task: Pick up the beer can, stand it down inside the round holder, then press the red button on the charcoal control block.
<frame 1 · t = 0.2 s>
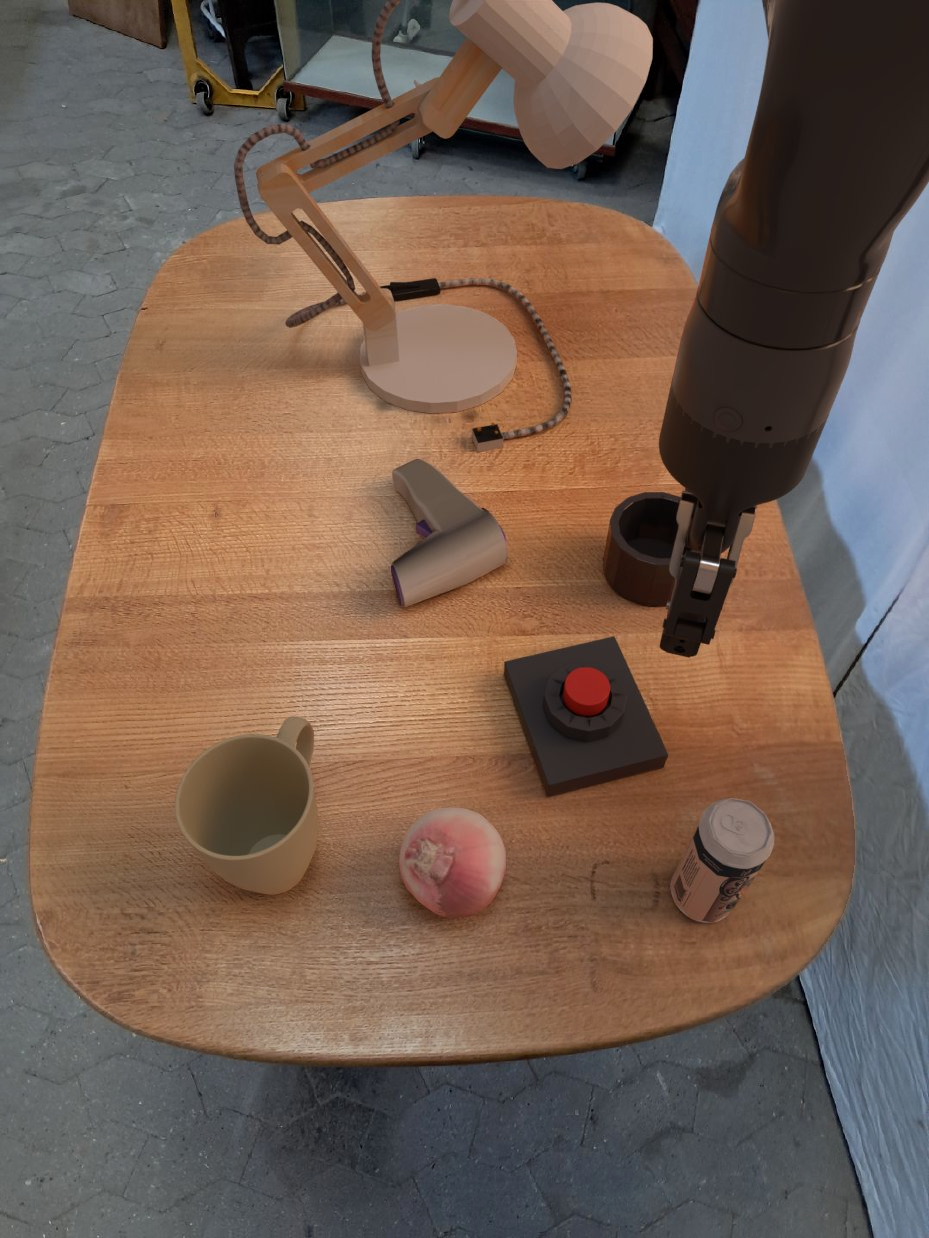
hand: (687, 594, 56), 22 cm above the table, tool pointing down, fingers open, 8 cm apart
desk lamp: (443, 364, 105), on the table
button: (586, 691, 73), point 4 cm above the table, slide at 0.1 cm
holder: (649, 570, 86), on the table
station: (580, 719, 76), on the table
onion: (454, 876, 68), on the table
beer can: (701, 893, 67), on the table
mug: (279, 850, 70), on the table
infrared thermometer: (419, 544, 88), on the table
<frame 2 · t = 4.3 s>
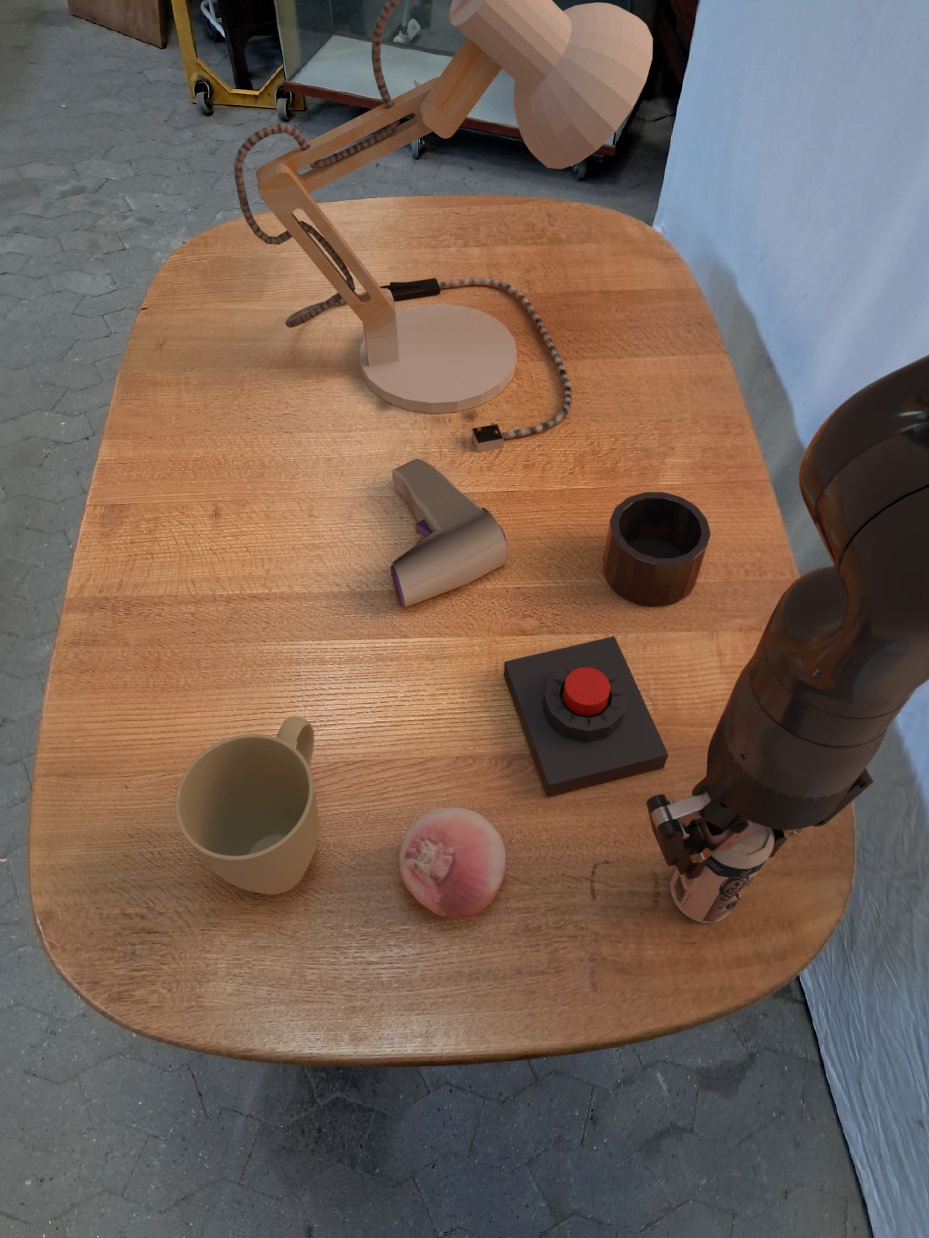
hand: (724, 854, 61), 7 cm above the table, tool pointing down, fingers closed on beer can, 4 cm apart
beer can: (701, 893, 67), on the table, touching gripper
everything else where it was.
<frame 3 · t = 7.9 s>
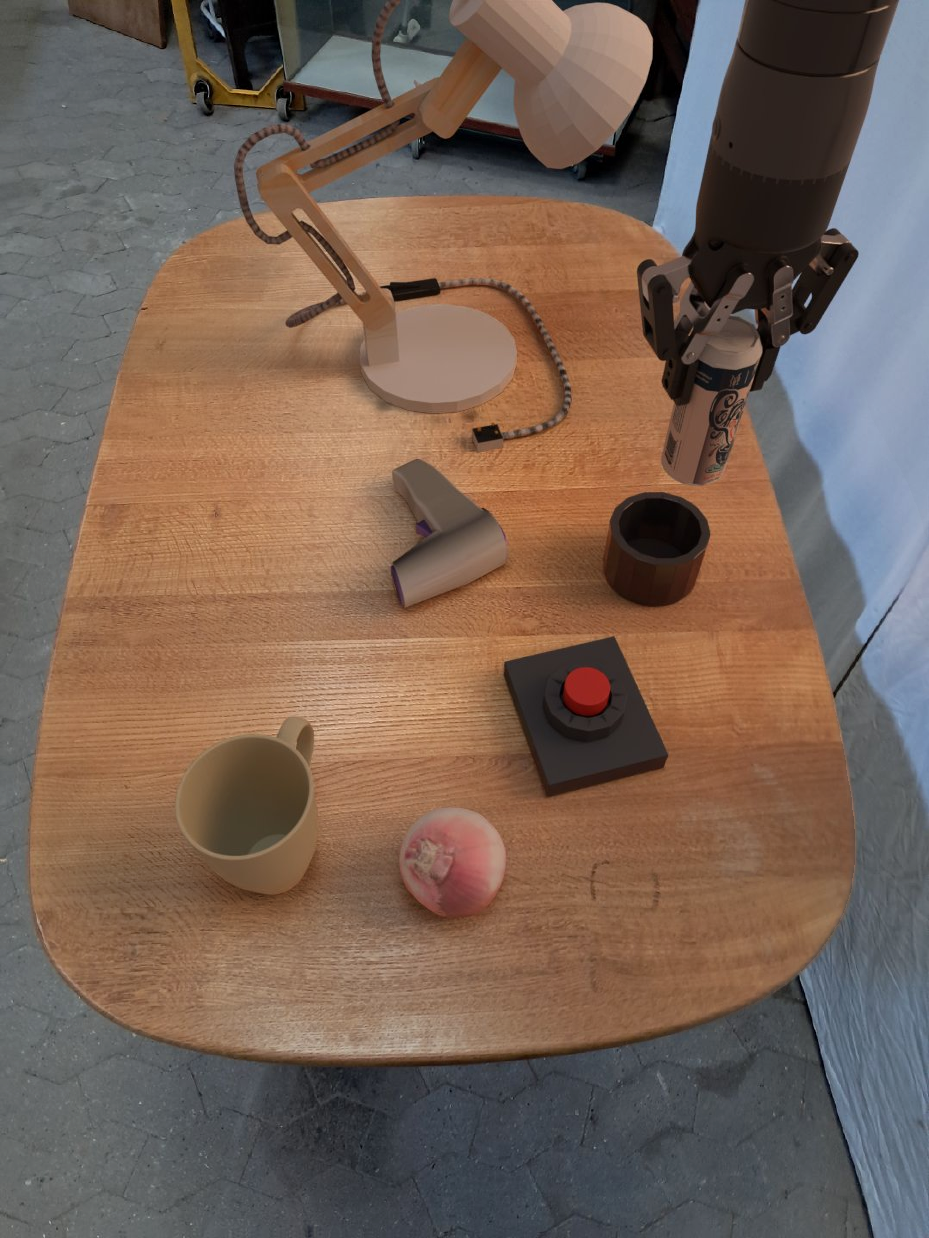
hand: (713, 389, 62), 25 cm above the table, tool pointing down, fingers closed on beer can, 4 cm apart
beer can: (691, 469, 68), point 18 cm above the table, touching gripper
everything else where it was.
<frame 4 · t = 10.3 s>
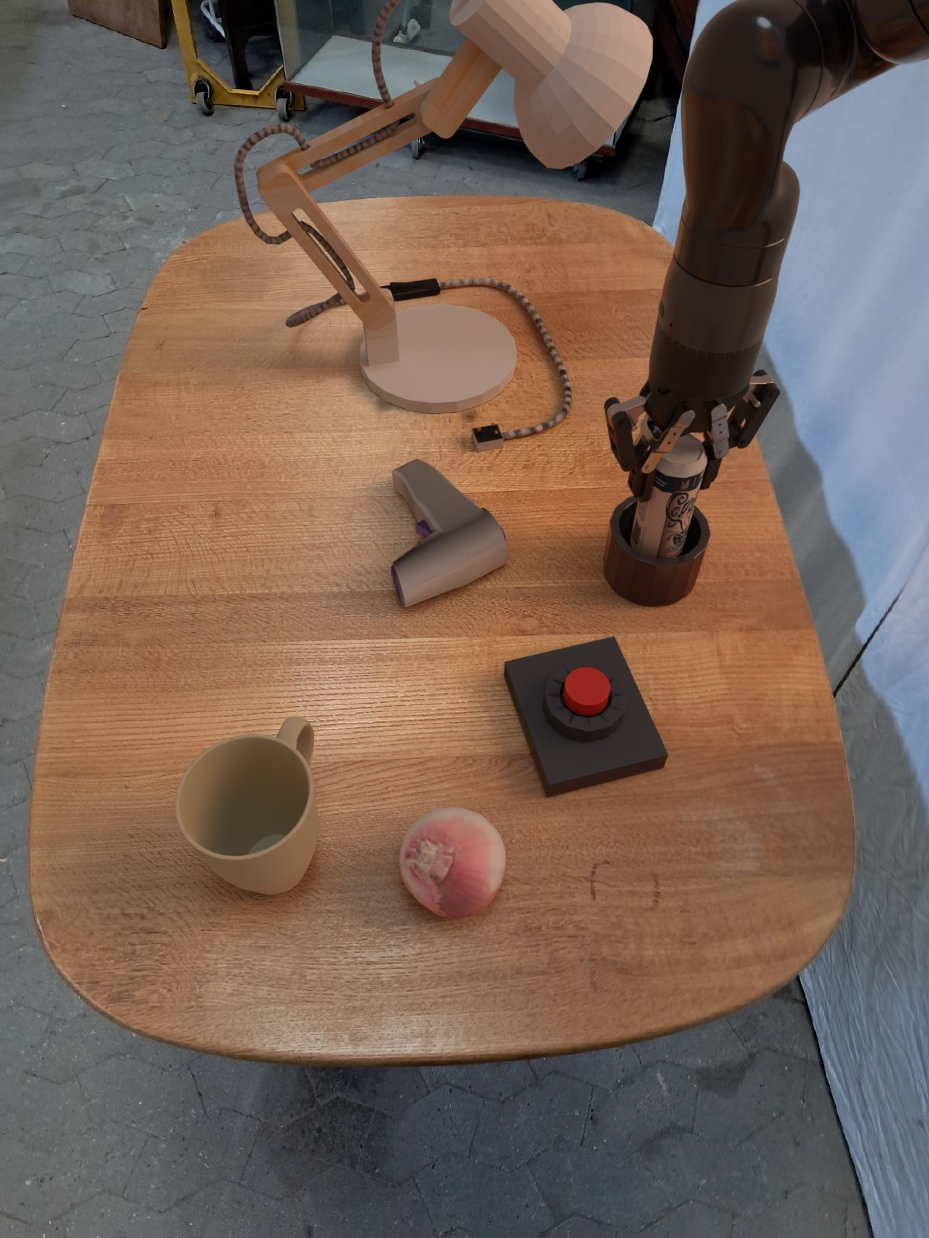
hand: (670, 488, 77), 11 cm above the table, tool pointing down, fingers closed on beer can, 4 cm apart
beer can: (655, 547, 83), point 3 cm above the table, touching gripper
everything else where it was.
when the fingers open (8 cm above the table, at t = 11.7 s): beer can stays where it is, resting on holder.
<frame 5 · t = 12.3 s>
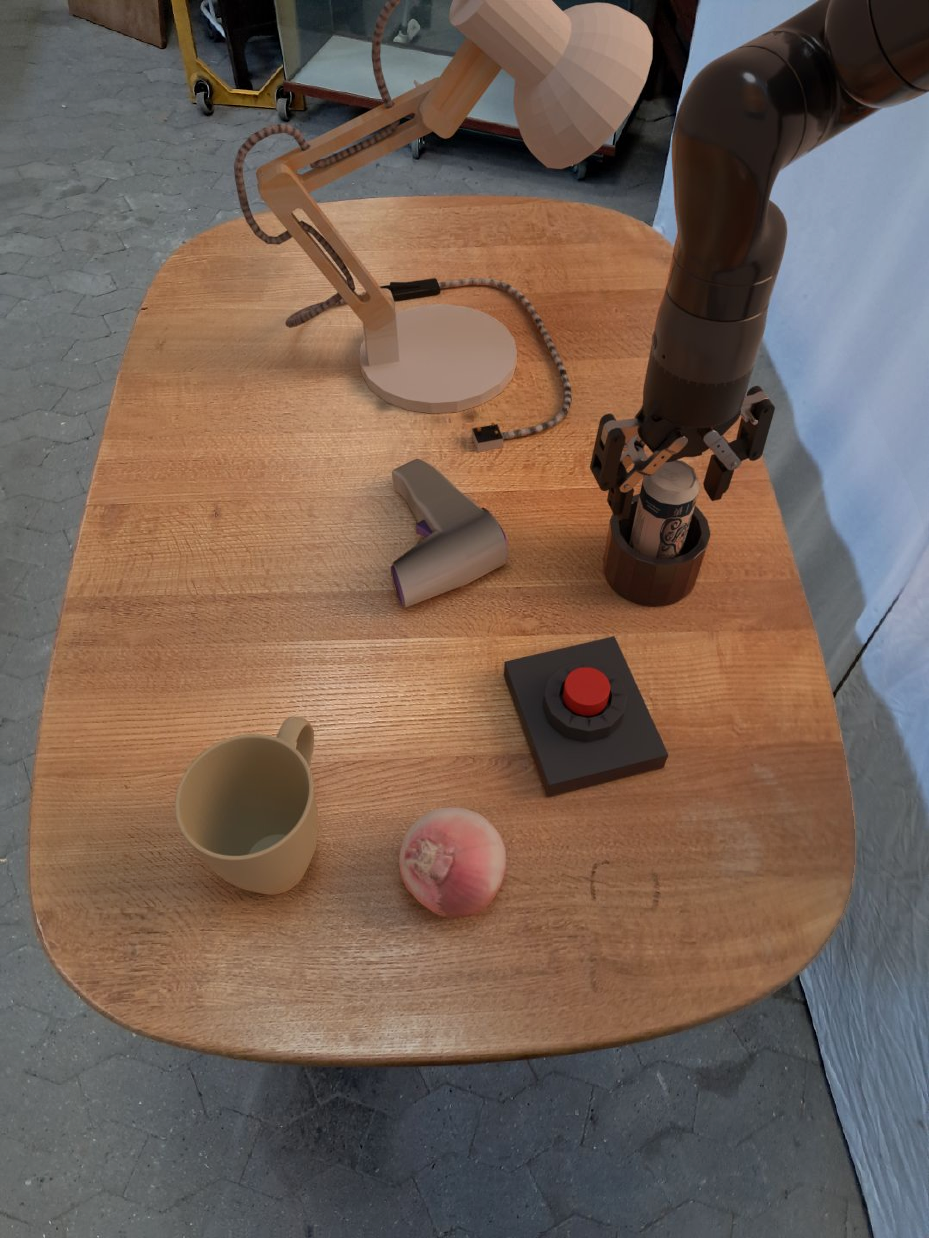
hand: (666, 503, 79), 9 cm above the table, tool pointing down, fingers open, 8 cm apart
beer can: (650, 568, 86), resting on holder
everything else where it was.
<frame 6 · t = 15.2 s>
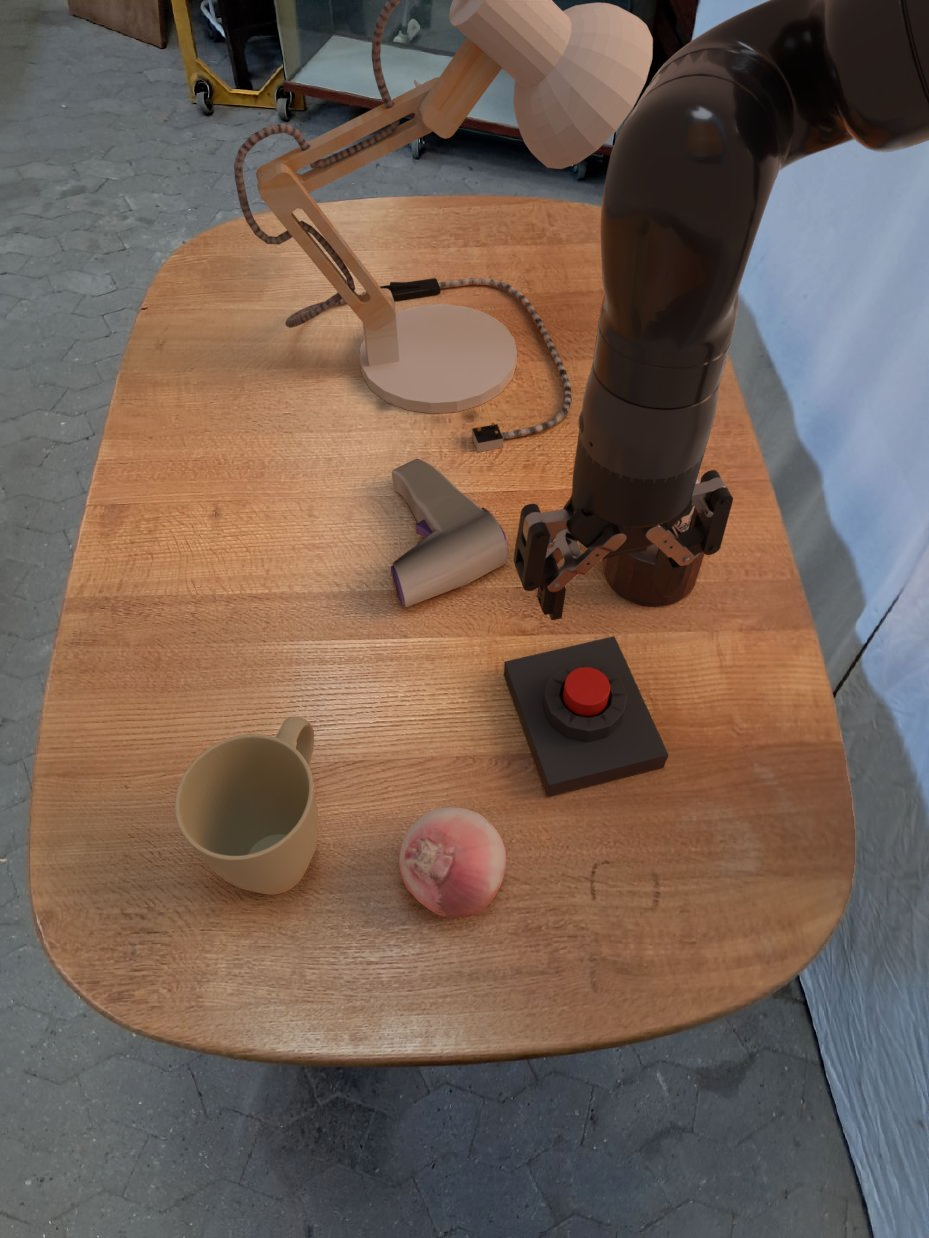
hand: (607, 599, 66), 14 cm above the table, tool pointing down, fingers open, 8 cm apart
nothing on the table moved.
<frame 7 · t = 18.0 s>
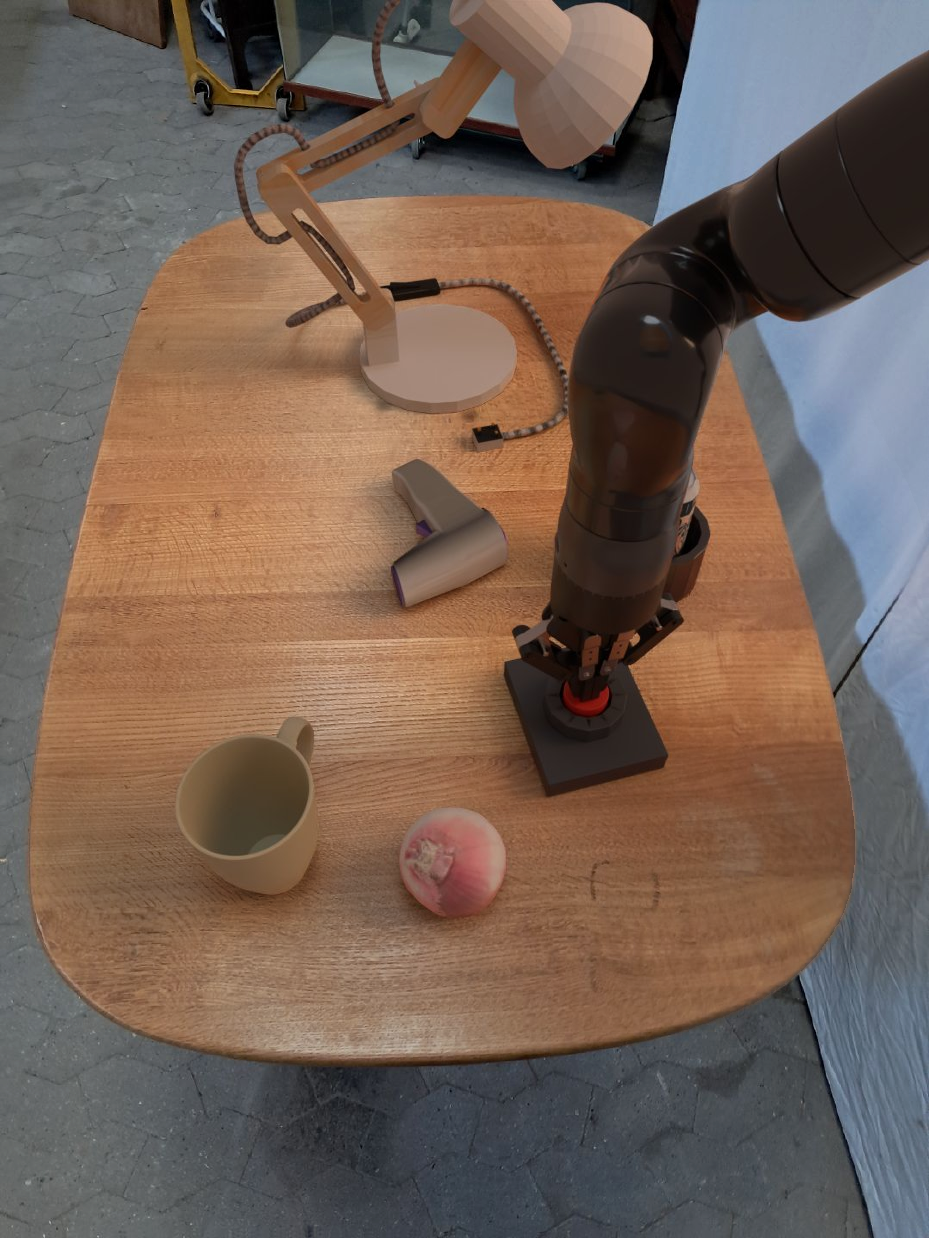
hand: (585, 690, 72), 5 cm above the table, tool pointing down, fingers closed
button: (585, 696, 73), point 4 cm above the table, slide at -0.7 cm, touching gripper
everything else where it was.
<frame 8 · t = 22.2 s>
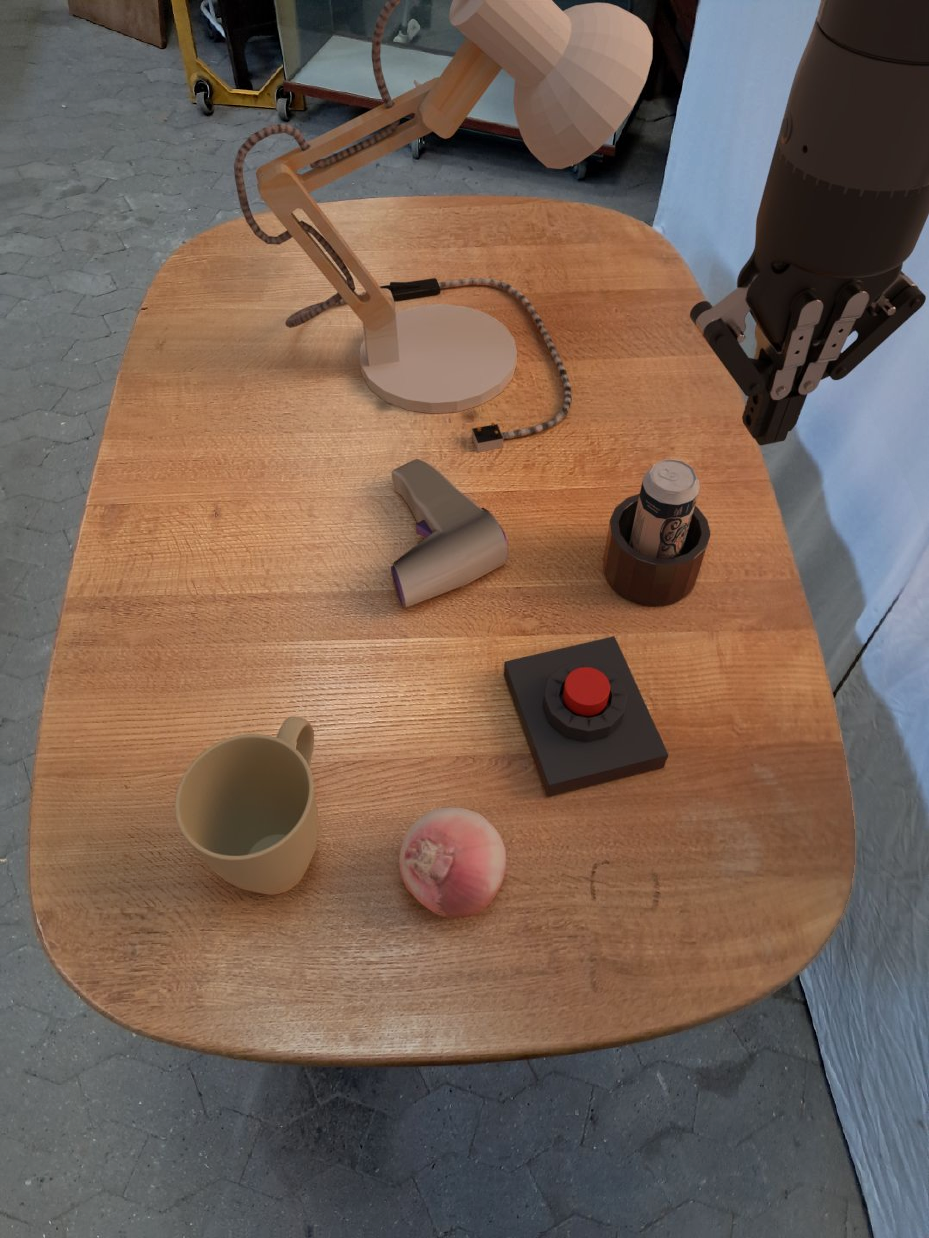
hand: (764, 434, 55), 29 cm above the table, tool pointing down, fingers closed
button: (586, 691, 73), point 4 cm above the table, slide at 0.1 cm
everything else where it was.
at the end: beer can 0.1 cm off-centre in the holder, point 0.3 cm above the holder's base; button pushed in 1.1 cm at the most during the clip, back to where it started at the end; button slide at 0.1 cm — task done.
